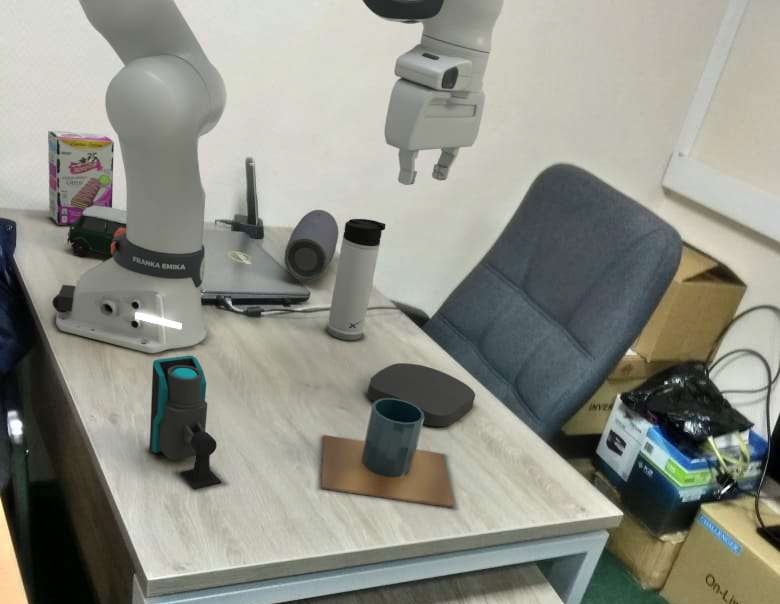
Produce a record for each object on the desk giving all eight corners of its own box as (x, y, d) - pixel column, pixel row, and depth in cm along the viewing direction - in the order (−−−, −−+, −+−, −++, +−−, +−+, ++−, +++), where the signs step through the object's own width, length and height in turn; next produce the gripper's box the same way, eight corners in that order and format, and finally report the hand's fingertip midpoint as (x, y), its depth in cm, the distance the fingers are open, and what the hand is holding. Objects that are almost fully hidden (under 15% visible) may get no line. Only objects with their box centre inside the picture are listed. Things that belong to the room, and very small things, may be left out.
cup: (361, 472, 105) (373, 418, 101) (360, 446, 111) (372, 394, 106) (412, 480, 106) (426, 427, 102) (409, 454, 112) (422, 402, 107)
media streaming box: (440, 434, 119) (445, 416, 118) (357, 397, 124) (361, 379, 122) (479, 404, 130) (484, 387, 129) (402, 371, 135) (406, 354, 133)
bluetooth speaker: (294, 249, 177) (301, 202, 171) (336, 258, 177) (344, 212, 172) (278, 281, 158) (284, 230, 152) (324, 291, 158) (333, 241, 153)
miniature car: (162, 273, 149) (164, 230, 144) (63, 253, 147) (62, 208, 142) (174, 259, 156) (176, 217, 152) (79, 239, 154) (79, 196, 150)
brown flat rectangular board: (321, 488, 101) (322, 486, 100) (323, 437, 111) (324, 435, 111) (452, 507, 103) (453, 505, 103) (442, 456, 114) (443, 453, 114)
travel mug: (358, 344, 140) (381, 229, 129) (322, 334, 141) (342, 218, 130) (366, 332, 146) (389, 221, 134) (332, 323, 146) (351, 210, 135)
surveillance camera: (193, 399, 88) (150, 360, 93) (186, 491, 94) (147, 449, 100) (238, 392, 91) (194, 354, 97) (228, 481, 98) (188, 441, 103)
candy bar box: (58, 226, 158) (56, 137, 149) (49, 218, 161) (46, 129, 151) (113, 226, 165) (114, 140, 156) (103, 217, 167) (103, 133, 158)
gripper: (464, 65, 111) (438, 169, 119) (388, 58, 96) (364, 178, 103) (504, 78, 109) (475, 183, 117) (433, 73, 94) (405, 194, 101)
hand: (422, 181), depth 110 cm, fingers open, 8 cm apart
